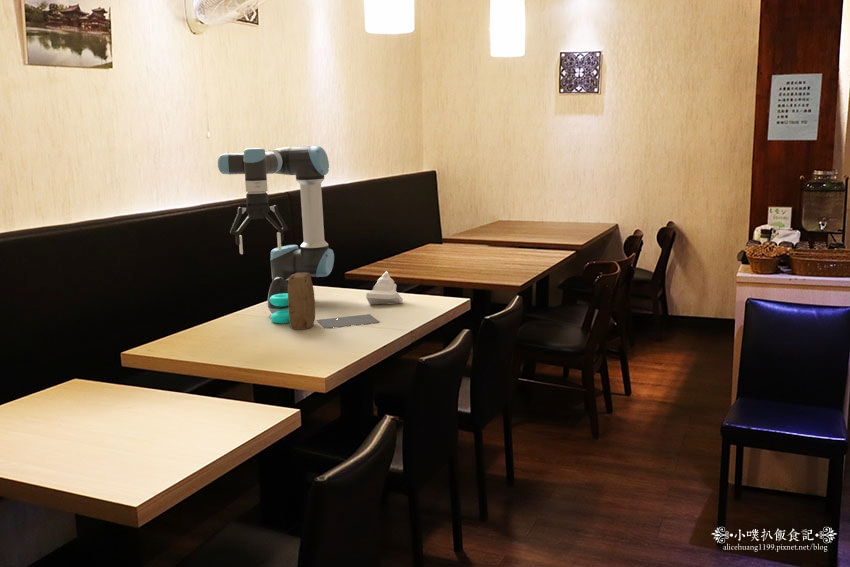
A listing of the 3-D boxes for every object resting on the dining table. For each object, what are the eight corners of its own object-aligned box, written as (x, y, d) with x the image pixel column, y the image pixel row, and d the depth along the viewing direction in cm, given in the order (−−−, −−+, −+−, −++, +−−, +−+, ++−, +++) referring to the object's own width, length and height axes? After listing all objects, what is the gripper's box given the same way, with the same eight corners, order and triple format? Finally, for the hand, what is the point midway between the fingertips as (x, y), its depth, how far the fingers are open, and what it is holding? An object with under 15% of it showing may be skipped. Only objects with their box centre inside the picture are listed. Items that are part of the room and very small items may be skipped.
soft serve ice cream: (366, 305, 332) (367, 271, 333) (401, 306, 333) (403, 273, 334) (366, 303, 320) (367, 269, 321) (403, 305, 321) (404, 270, 322)
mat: (316, 320, 301) (316, 319, 301) (369, 314, 308) (369, 314, 308) (324, 328, 288) (324, 328, 288) (380, 322, 295) (380, 321, 295)
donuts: (301, 295, 299) (278, 299, 293) (302, 320, 301) (279, 325, 295) (286, 291, 307) (264, 295, 300) (288, 316, 309) (265, 321, 302)
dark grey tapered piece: (298, 315, 310) (295, 277, 307) (272, 318, 306) (269, 280, 303) (290, 310, 319) (288, 273, 316) (265, 313, 315) (262, 276, 312)
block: (306, 330, 286) (303, 276, 282) (287, 329, 288) (284, 275, 284) (318, 323, 296) (315, 271, 293) (300, 322, 298) (297, 270, 295)
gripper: (221, 195, 270) (226, 256, 274) (294, 191, 279) (297, 250, 283) (219, 193, 277) (223, 253, 281) (289, 190, 286) (293, 248, 290)
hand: (260, 252), depth 282 cm, fingers open, 13 cm apart
